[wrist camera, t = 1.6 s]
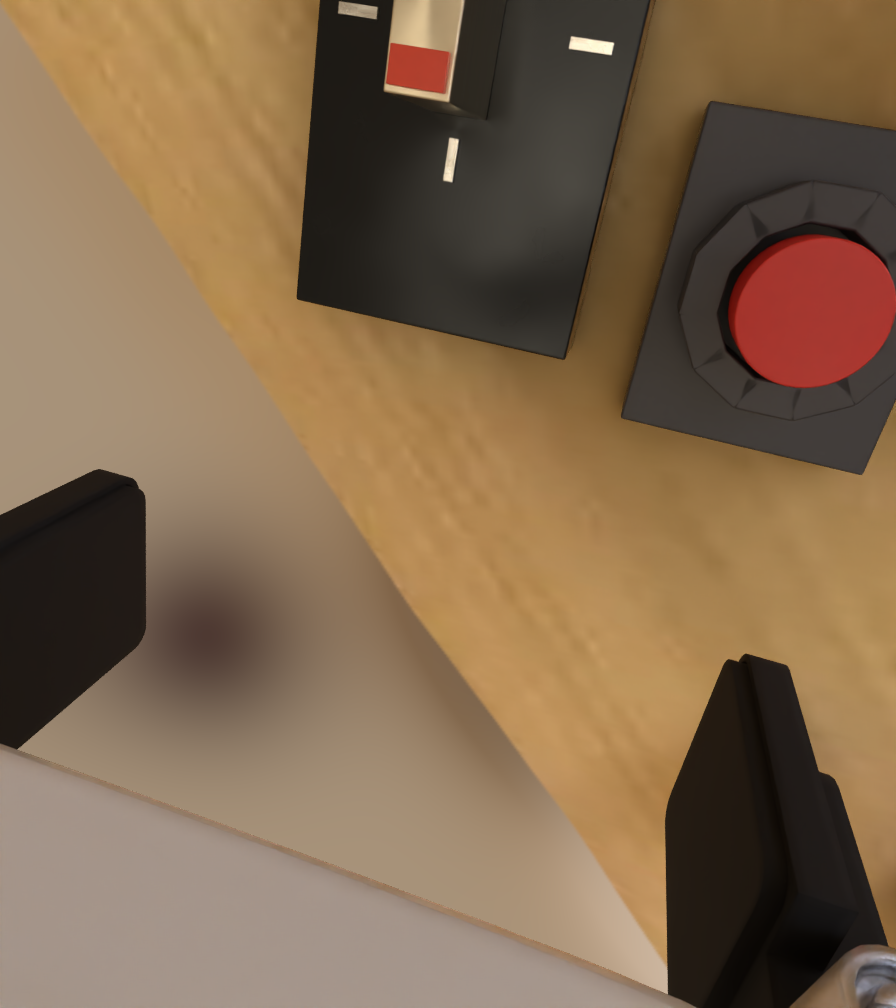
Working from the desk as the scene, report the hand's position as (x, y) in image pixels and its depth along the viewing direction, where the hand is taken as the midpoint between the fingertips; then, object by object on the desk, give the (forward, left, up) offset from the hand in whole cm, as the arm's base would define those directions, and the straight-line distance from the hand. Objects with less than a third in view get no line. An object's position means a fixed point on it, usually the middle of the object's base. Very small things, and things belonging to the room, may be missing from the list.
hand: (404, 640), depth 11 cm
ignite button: (-6, +6, -17) cm, 19 cm away
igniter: (-6, +6, -21) cm, 23 cm away
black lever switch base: (-6, -7, -21) cm, 23 cm away
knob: (-9, -8, -18) cm, 22 cm away
